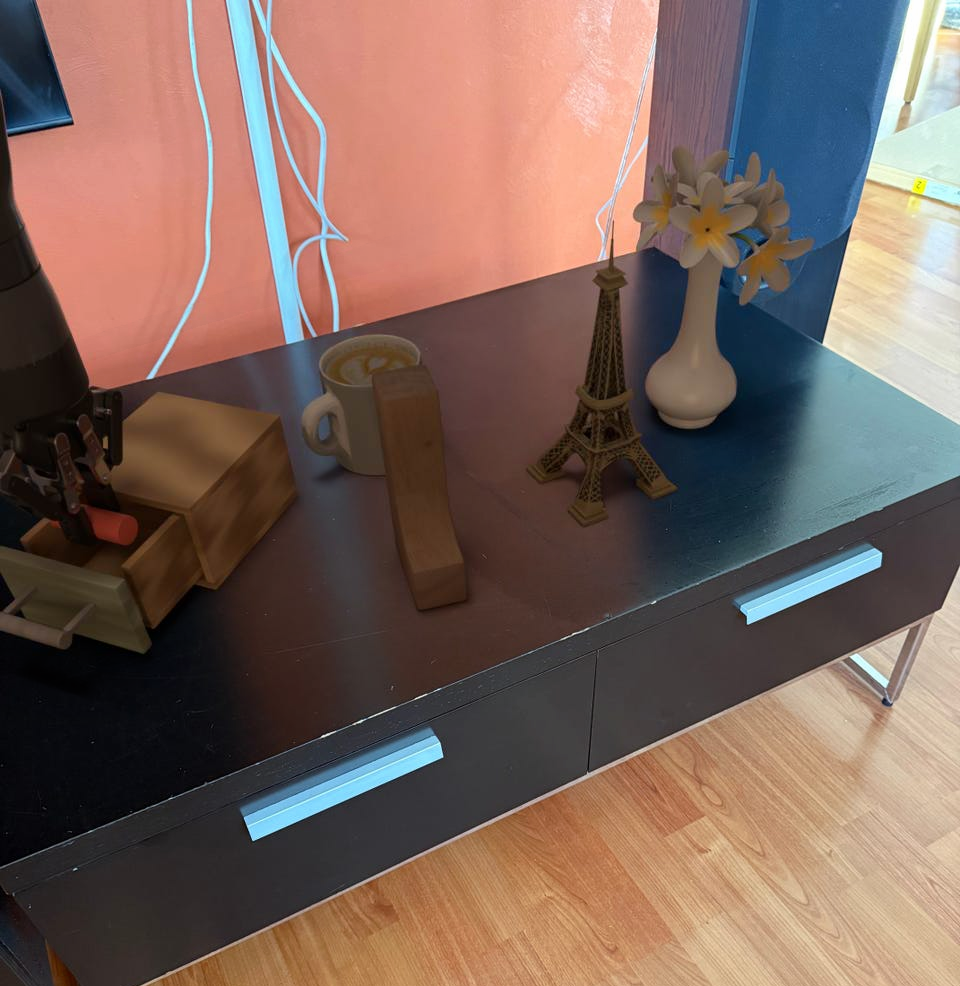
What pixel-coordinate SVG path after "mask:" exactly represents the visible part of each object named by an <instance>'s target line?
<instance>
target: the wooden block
mask: <svg viewBox="0 0 960 986" xmlns="http://www.w3.org/2000/svg"><path fill="white" fill-rule="evenodd" d="M372 386H373V392H374V399H375V406H376V413H377V419H378V426H379V433H380V440H381V447H382V453H383V460H384V467H385V474H386V475H385V479H386V485H387V494H388V501H389V507H390V514H391V521H392V528H393V534H394V540H395V548H396V550H397V553H398V557H399V559H400V562H401V566H402V568H403V572H404V574H405V578H406V580H407V584H408V586H409V589H410V591H411V592H410V593H411V595H412V598H413V601H414V604H415V607H416V608H417V609H418V611H419V610H420V611H424V610H428V609H432V608H438V607H442V606H446V605H450V604H451V605H452V604H455V603H459V602H463V601H466V600H467V598H468V588H467V587H468V586H467V575H466V574H467V573H466V566H465V565H466V564H465V559H464V557H463V554H462V550H461V548H460V545H459V542H458V539H457V536H456V535H457V534H456V531H455V527H454V526H455V525H454V521H453V517H452V512H451V506H450V498H449V491H448V481H447V480H448V479H447V470H446V459H445V448H444V446H445V445H444V437H443V435H444V434H443V426H442V425H443V424H442V415H441V405H440V394H439V390H438V387H437V385H436V383H435V382H434V379H433V377H432V375H431V373H430V370H429V369H428V366H427V364H423V363H422V364H420V365H414V366H409V367H403V368H398V369H393V370H387V371H382V372H377V373H374V374H373V375H372Z"/></svg>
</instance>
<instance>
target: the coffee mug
mask: <svg viewBox="0 0 960 986" xmlns="http://www.w3.org/2000/svg"><path fill="white" fill-rule="evenodd" d="M420 364H423V358H422V353H421V351H420V349H419V347H418V346H417V345H416V344H415V343H413V342H412V341H410V340H409V339H407V338H404V337H400V336H396V335H391V334H381V333H379V334H378V333H377V334H375V333H374V334H365V335H358V336H354V337H351V338H347V339H344V340H342V341H340V342H337V343H336V344H334V345H332V346H331V347H329V348H328V349H326V350H325V352H323V354H322V355H321V357H320V358H319V361H318V372H319V373H318V374H319V378H320V384H321V390H322V395H321V396H320V395H319V397H317V398H315V399H313V400H312V401H310V402H309V403H308V404H307V405H306V406H305V408H304V410H303V412H302V415H301V420H300V428H301V435H302V438H303V440H304V443H305V444H306V446H307V447H308V448H309V450H310V451H311V452H313V453H314V454H315V455H318V456H321V457H322V456H323V457H329V456H335V458H336V461H337V462H338V464H340V465H341V466H342V467H343V468H345V469H346V470H348V471H350V472H352V473H355V474H360V475H366V476H386V474H385V467H384V460H383V453H382V447H381V440H380V433H379V426H378V419H377V413H376V406H375V399H374V392H373V386H372V375H373V374H374V373H377V372H382V371H387V370H393V369H398V368H403V367H409V366H414V365H420ZM325 416H327V419H328V425H329V429H330V431H329V434H328V435H327V437H326V438H324V439H323V440H321V438H320V435H319V434H320V433H319V428H320V427H319V426H320V423H321V421H322V419H324V418H325Z"/></svg>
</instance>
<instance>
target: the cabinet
mask: <svg viewBox="0 0 960 986" xmlns="http://www.w3.org/2000/svg"><path fill="white" fill-rule="evenodd" d="M284 431H285V430H284V427H283V423H282V418H281V415H280V414H275V413H270V412H265V411H261V410H260V411H259V410H254V409H250V408H245V407H244V408H243V407H239V406H233V405H229V404H224V403H220V402H214V401H209V400H204V399H199V398H194V397H188V396H182V395H178V394H172V393H167V392H164V391H156V392H155V394H153V395H152V396H151V397H149V398H148V399H147V400H146V401H145V402H144V403H142V405H140V406H139V407H138V408H137V409H136V410H135V411H133V412H132V413H131V414H130V415H128V416H127V417H126V418H125V419H123V460H122V463H121V464H120V465H119V466H115V465H114V467H113V469H112V470H111V475H112V479H111V482H110V483H111V486H112V488H113V491H114V493H115V496H116V498H118V499H122V500H126V501H131V502H135V503H139V504H143V505H147V506H151V507H156V508H160V509H164V510H168V511H172V512H176V513H180V514H184V516H185V519H186V522H187V525H188V528H189V531H190V534H191V537H192V540H193V542H194V545H195V548H196V551H197V554H198V557H199V560H200V563H201V566H202V569H203V572H204V574H203V575H202V576H201V577H200V578H199V579H198V580H197V581H196V583H195V584H194V585H196V586H200V587H203V588H206V589H207V588H208V589H209V590H215V591H217V590H218V589H219V587H220V586H221V585H222V584H223V583H224V582H225V580H226V579H227V578H228V577H229V576H230V575H231V574H232V572H233V571H234V570H235V569H236V568H237V567H238V565H240V564H241V562H242V561H243V560H244V559H245V557H247V555H248V554H249V553H250V551H252V550H253V548H254V547H255V546H256V545H257V543H258V542H259V541H260V540H261V539H262V538H263V537H264V535H265V534H266V533H267V532H268V531H269V530H270V528H271V527H272V526H273V525H274V524H275V522H276V521H278V520H279V518H280V517H281V515H282V514H283V513H284V512H285V511H286V510H287V509H288V508H289V507H290V505H291V504H293V502H294V501H295V499H297V497H298V496H299V493H298V489H297V483H296V478H295V476H294V471H293V466H292V463H291V458H290V457H291V456H290V454H289V449H288V445H287V440H286V436H285V432H284ZM103 448H107V449H108V438H107V435H106V436H103ZM76 476H77V475H76ZM77 479H78V481H77V483H75V488H76V489H81V490H82V488H81V486H80V485H81V484H82V483H83V482H84V480H81V479H79V478H78V476H77Z"/></svg>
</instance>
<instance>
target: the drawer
mask: <svg viewBox="0 0 960 986" xmlns="http://www.w3.org/2000/svg"><path fill="white" fill-rule="evenodd" d="M76 491H77V494H78V498H79V501H80V504H84V505H88V506H89V504H88V502H87V499H86V497H85V495H84V493H83V490H81V489H76ZM117 501H118V503H119V508H120V511H119V513H121V514H125V515H129V516H132V517H134V518H135V519H136V521H137V524H138V532H137V536H136V538H135V540H134V541H133V542H132V543H131V544H129V545H122V544H118V543H114V542H110V541H107V540H103V539H99V538H98V542H97V543H96V544H95V545H94V546H93V547H87V546H83V545H79V544H76V543H72V542H69V541H68V540H67V539H66V537H65V535H64V533H63V531H62V529H60V528H56V527H54V526H53V525H52V524H51V523H50V521H49V519H47V518H43V517H42V519H41V520H40V521H38V523H36V524H35V525H34V526H33V527H32V528H30V529H29V530H28V531H27V532H26V533H25V534H23V536H21V537H20V539H19V541H20V542H21V544H22V547H23V548H24V550H25V551H21V550H18V549H14V548H11V547H7V546H3V545H0V574H1V576H2V578H3V580H4V582H5V584H6V585H7V588H8V589H9V591H10V592H11V594H12V597H13V598H14V600H13V601H12V602H11V603H10V604H9V605H8V606H6V607H5V608H4V609H3V610H2V611H0V631H1V632H4V633H8V634H11V635H14V636H17V637H21V638H23V639H28V640H30V641H34V642H37V643H41V644H42V645H47V646H50V647H53V648H56V649H60V650H67V649H68V648H69V647H70V646H71V645H72V643H73V635H74V634H75V635H78V636H83V637H86V638H89V639H92V640H94V641H95V640H96V641H99V642H103V643H104V644H105V643H106V644H109V645H113V646H116V647H118V648H122V649H126V650H130V651H132V652H136V653H139V654H142V655H144V654H145V653H147V651H148V650H149V649H150V648H151V647H152V645H153V642H152V640H151V638H150V636H149V634H148V630H147V629H146V628H149V629H152V630H154V629H156V628H157V627H158V626H159V624H160V623H161V622H162V621H163V619H165V618H166V616H167V615H168V614H169V613H170V612H171V611H172V610H173V609H174V607H176V605H177V604H178V603H179V602H180V600H182V598H183V597H184V596H185V595H186V594H187V593H188V592H189V591H190V590H191V588H192V587H193V586H194V585H195V583H196V581H197V580H198V579H199V578H200V577H201V576H202V575H203V574H204V572H203V569H202V566H201V563H200V560H199V557H198V554H197V551H196V548H195V545H194V542H193V540H192V537H191V534H190V531H189V528H188V525H187V522H186V519H185V516H184V514H180V513H176V512H172V511H168V510H164V509H160V508H156V507H151V506H147V505H143V504H139V503H135V502H131V501H126V500H122V499H118V498H117ZM20 611H21V612H22V615H23V616H24V618H23V617H20V616H16V614H17V613H18V612H20Z"/></svg>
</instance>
